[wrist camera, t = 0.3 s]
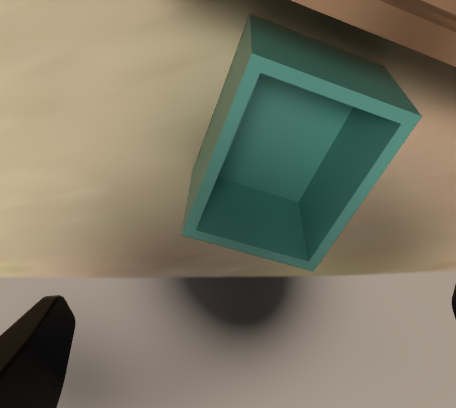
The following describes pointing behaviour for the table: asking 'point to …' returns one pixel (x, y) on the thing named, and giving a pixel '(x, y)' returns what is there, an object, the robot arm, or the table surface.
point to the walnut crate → (400, 22)
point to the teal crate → (293, 146)
